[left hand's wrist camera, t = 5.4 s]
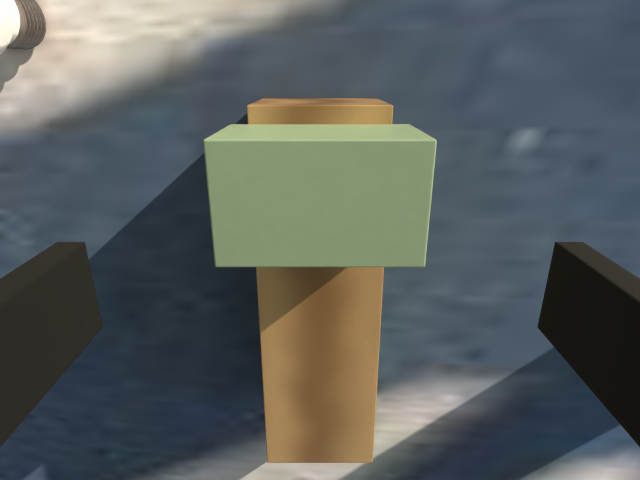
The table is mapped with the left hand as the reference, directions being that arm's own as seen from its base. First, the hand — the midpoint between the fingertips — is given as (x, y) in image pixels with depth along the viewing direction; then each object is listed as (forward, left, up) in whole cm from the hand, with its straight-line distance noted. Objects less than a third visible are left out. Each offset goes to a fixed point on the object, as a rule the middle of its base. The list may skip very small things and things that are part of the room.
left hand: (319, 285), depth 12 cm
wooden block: (0, +9, -21) cm, 23 cm away
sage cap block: (0, 0, -14) cm, 14 cm away
